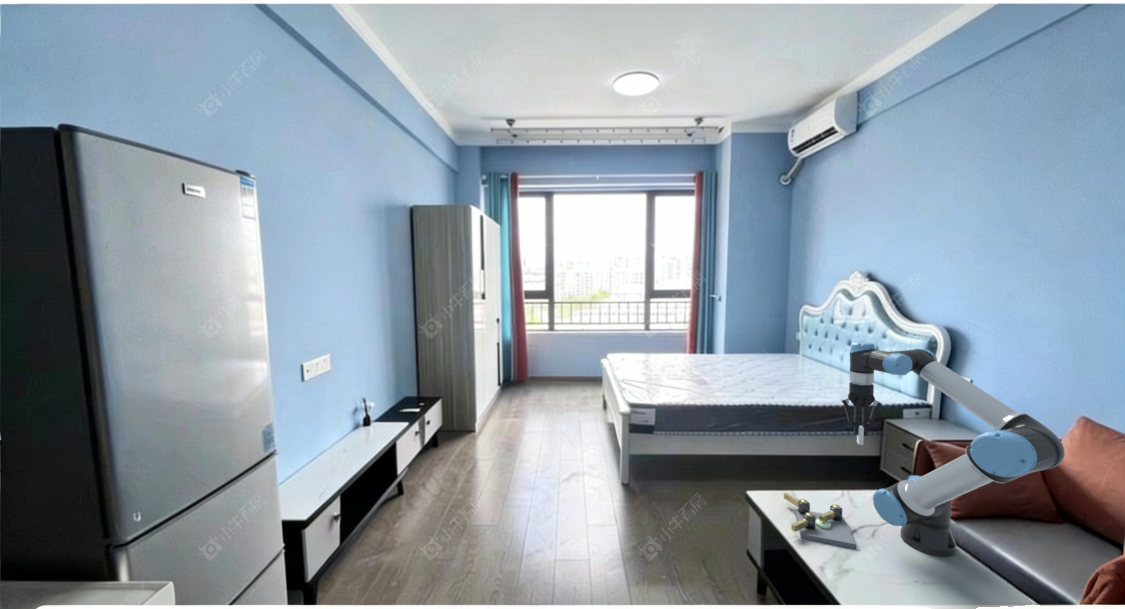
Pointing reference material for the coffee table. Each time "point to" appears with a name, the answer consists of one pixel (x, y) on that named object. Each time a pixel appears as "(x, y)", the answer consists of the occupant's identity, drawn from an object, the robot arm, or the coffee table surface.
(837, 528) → the base plate
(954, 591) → the coffee table surface
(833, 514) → the knob
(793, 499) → the knob
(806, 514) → the knob
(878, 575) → the coffee table surface
